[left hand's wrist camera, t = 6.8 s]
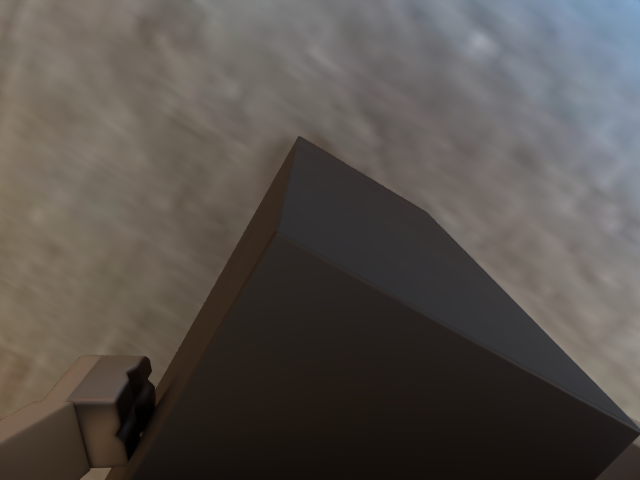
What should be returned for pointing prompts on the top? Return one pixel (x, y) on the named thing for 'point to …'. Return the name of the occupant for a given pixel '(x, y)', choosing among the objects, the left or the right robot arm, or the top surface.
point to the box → (367, 356)
